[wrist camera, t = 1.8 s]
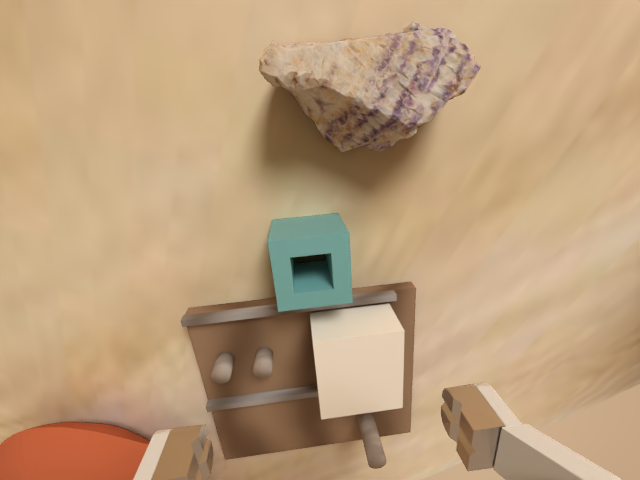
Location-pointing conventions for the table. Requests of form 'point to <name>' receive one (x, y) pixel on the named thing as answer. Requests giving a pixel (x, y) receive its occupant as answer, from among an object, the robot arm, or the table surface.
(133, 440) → the sculpture
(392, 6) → the table surface
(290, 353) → the base
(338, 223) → the teal cube
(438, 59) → the mineral specimen
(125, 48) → the table surface
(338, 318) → the cover
